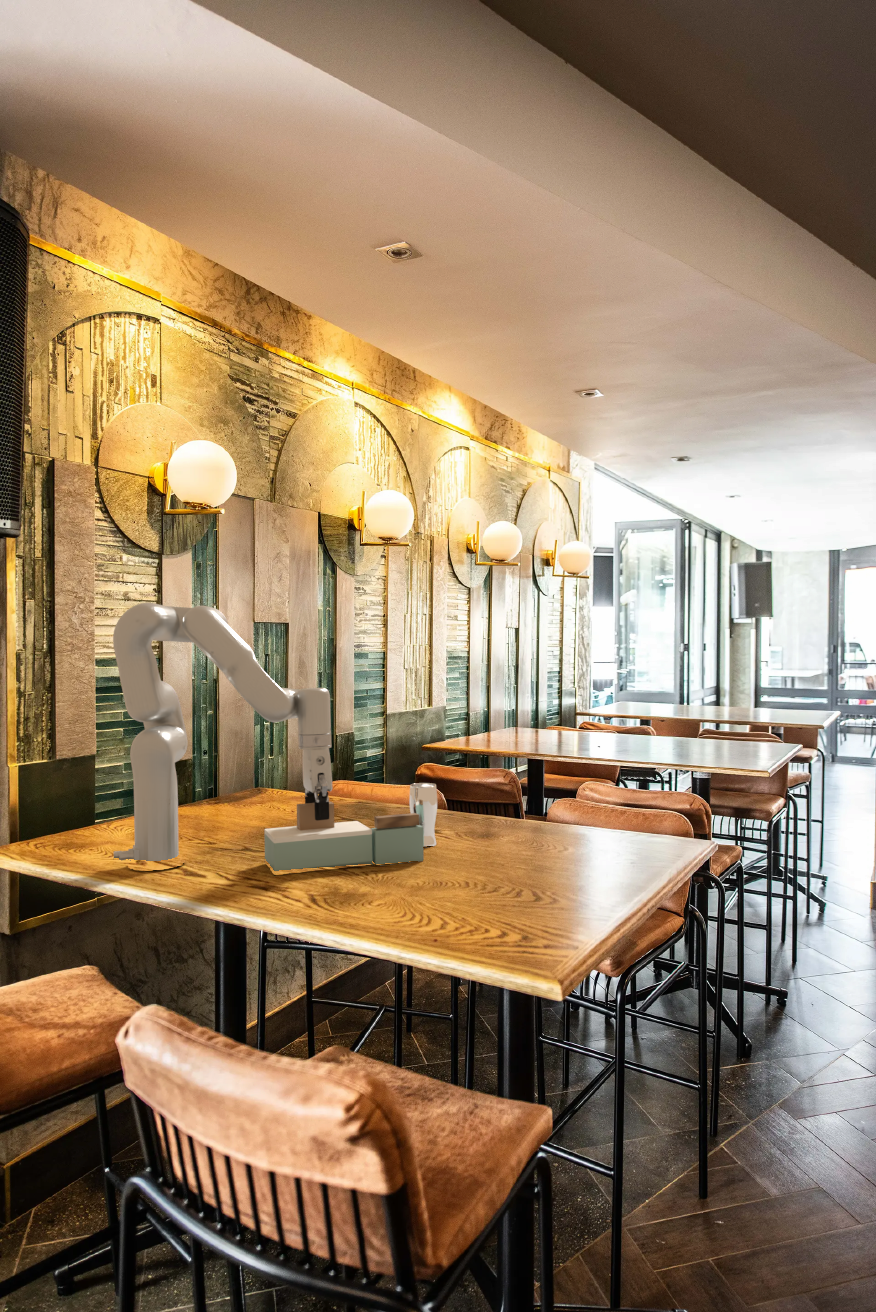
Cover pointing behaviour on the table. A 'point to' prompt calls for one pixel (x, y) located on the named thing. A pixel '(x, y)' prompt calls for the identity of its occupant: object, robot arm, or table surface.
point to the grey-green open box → (348, 849)
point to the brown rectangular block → (396, 820)
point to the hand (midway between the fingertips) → (317, 816)
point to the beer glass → (425, 809)
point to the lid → (315, 827)
